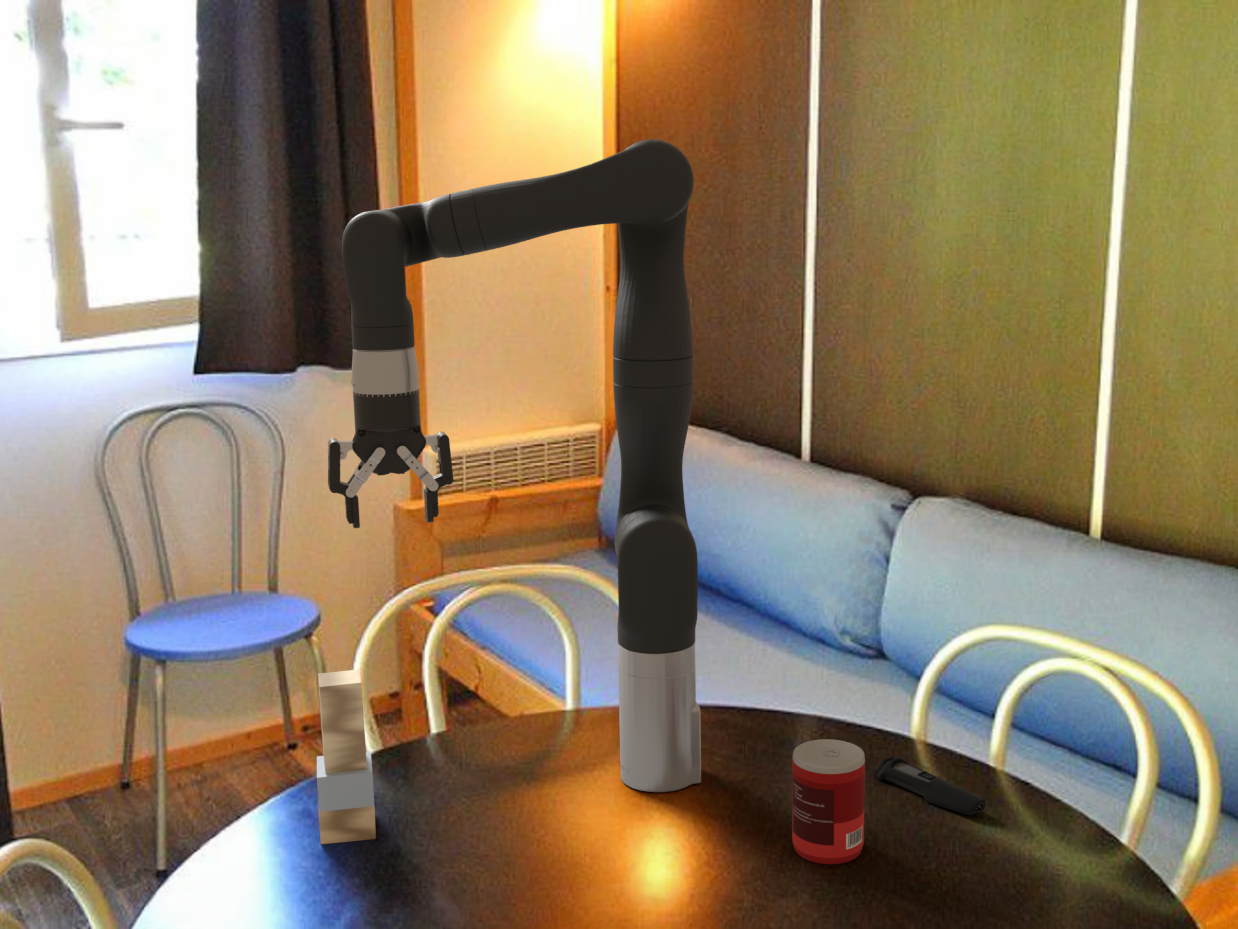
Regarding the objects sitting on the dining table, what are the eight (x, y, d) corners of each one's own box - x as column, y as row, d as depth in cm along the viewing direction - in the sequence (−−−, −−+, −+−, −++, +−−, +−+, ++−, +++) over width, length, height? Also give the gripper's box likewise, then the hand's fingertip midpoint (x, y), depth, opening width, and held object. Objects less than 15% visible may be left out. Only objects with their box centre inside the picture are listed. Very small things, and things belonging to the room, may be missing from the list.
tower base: (375, 816, 164) (373, 783, 163) (375, 839, 158) (373, 806, 157) (321, 821, 163) (319, 788, 162) (320, 845, 157) (318, 811, 156)
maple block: (364, 753, 161) (358, 669, 159) (367, 768, 157) (361, 682, 155) (323, 758, 160) (317, 673, 158) (325, 773, 156) (319, 687, 154)
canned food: (861, 832, 157) (862, 739, 155) (866, 867, 149) (867, 769, 147) (791, 831, 158) (791, 737, 155) (792, 865, 150) (793, 767, 148)
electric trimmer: (969, 829, 158) (970, 802, 158) (871, 780, 171) (871, 755, 170) (992, 820, 160) (993, 794, 160) (893, 772, 173) (894, 748, 172)
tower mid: (372, 784, 163) (370, 751, 162) (374, 806, 157) (372, 772, 156) (318, 789, 162) (316, 756, 161) (319, 812, 156) (316, 777, 155)
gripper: (325, 395, 158) (333, 536, 161) (452, 387, 161) (458, 526, 165) (320, 385, 165) (329, 521, 168) (442, 379, 168) (448, 512, 172)
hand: (393, 524), depth 166 cm, fingers open, 8 cm apart
